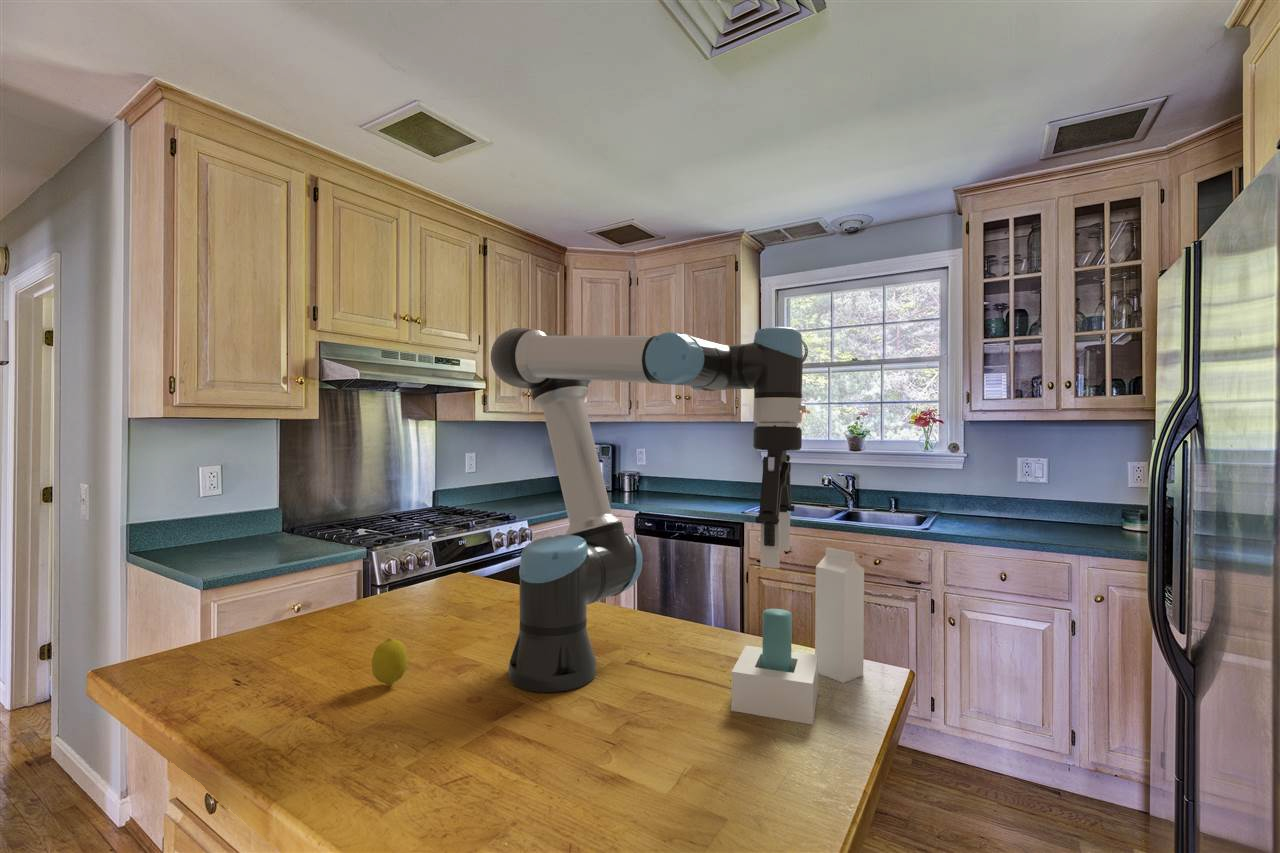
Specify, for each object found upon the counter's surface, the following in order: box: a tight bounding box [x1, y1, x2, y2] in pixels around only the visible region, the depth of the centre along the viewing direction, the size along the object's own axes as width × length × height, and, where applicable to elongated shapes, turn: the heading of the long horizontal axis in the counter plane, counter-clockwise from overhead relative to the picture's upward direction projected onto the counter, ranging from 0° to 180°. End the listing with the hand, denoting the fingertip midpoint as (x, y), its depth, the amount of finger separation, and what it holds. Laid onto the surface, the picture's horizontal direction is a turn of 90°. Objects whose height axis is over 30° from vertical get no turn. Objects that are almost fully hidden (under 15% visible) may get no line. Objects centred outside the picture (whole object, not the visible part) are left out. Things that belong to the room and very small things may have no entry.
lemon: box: [371, 637, 409, 687], centre depth 100 cm, size 6×6×8 cm
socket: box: [730, 645, 819, 725], centre depth 96 cm, size 12×12×6 cm
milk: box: [814, 547, 865, 684], centre depth 107 cm, size 6×6×22 cm
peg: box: [762, 608, 793, 672], centre depth 96 cm, size 4×4×14 cm
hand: (776, 558), depth 96 cm, fingers open, 13 cm apart
